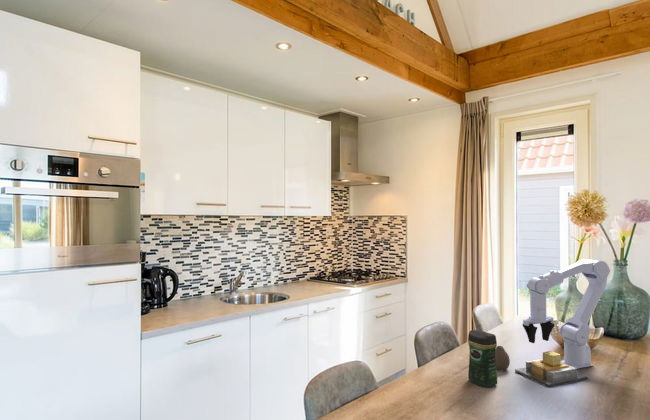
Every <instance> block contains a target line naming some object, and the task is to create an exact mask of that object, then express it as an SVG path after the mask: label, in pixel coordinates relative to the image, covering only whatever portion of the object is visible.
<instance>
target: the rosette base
mask: <svg viewBox="0 0 650 420" xmlns="http://www.w3.org/2000/svg"><path fill="white" fill-rule="evenodd" d="M514 372H515V373H516V374H519V375H521V376H523V377H525V378H527V379H530V380H531V381H535V382H537V383H538V384H540V385H543V386H545V387H547V388H552V387H553V388H554V387H556V386H557V387H558V386H563V385H566V384H567V385H568V384H571V383H576V382H577V383H578V382H581V381H587V380H589V376H588V375H585V374H583V373H580V372H578V369H577V368H574V367H572V366H569V365H566V364H564V363H561V365H560V366H554V367H551V366H548V365H546V364H543V358H539V359H533V360H528V361H525V367H522V368H517V369H516V368H515V370H514Z"/></svg>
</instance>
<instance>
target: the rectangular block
mask: <svg viewBox="0 0 650 420" xmlns="http://www.w3.org/2000/svg"><path fill="white" fill-rule="evenodd" d="M542 359H543V364H546V365H548V366H551V367H554V366H560V365H561V361H562V360H561V353H559V352H555V351H552V350H549V351H544V352H542Z"/></svg>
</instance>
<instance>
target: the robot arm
mask: <svg viewBox="0 0 650 420" xmlns="http://www.w3.org/2000/svg"><path fill="white" fill-rule="evenodd" d="M610 272H611V269H610V267H609V264H608V263H607V262H606V261H604V260H596V259H589V258H582V259H580V260H577V261H576V262H575V263H573V264H570V265H568V266H567V267H565V268H563V269H560V270H559V271H558V270H553V269H551V270H549V271H548V272H547V273H545V274H543V275H542V274H540V275H538V277H531V278H529V280H528V283H526V287H527V289H528V291H529V298H530V300H529V301H530V304H529V305H530V307H529V308H530V311H529V312H530V316H528V318H526V319H522V320H523V321H522V327H523V329H524V331H525V333H526V336H527V339H528V343H532V344H535V343H536V333H537V330H538V327H537V326H535V325H537V324H538V325H540V328H541V329H540V330H541V337H542V340H543V341H545V342H548V341H549V339H550V335H551V334H552V333H551V332H552V330H553V329H554V327H555V323H554V317H553V316H547V293H548V292H549V291H550V289H551V288H555V287H556V286H559V285H561V284H563V283H564V281H565V279H567V278H571V277H573V276H575V275H579V274H582V275H583V276H584V278H586V280H587V282H588V285H587V288H586V290H585V291H584V294H583V295H582V298H581V300H580V302H579V304H578V305H577V308H576V310H575V312H574V314H573V316H572V317H570V318H567V319H566V320H565V322H564V323H563V324H562V325H561V326H560V328H559V334H560V336H561V337H562V341H563V355H564V356H563V360H561V363H564V364H566V365H569V366H572V367H574V368H577V370H579V369H583V368H587V367H593V366H594V364H592V362H591V361H592V359H591V358H592V354H591V353H592V352H591V351H592V350H591V347H590V345H589V343H588V342H589V340H590V333H591V327H590V326H589V322H590V319H591V318H592V315H594V311H595V309H596V307H597V306H598V304H599V302H600V299H601V297H602V295H603V293H604V291H605V289H606V287H607V282H608V277H609V275H610Z"/></svg>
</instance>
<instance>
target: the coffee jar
mask: <svg viewBox="0 0 650 420" xmlns="http://www.w3.org/2000/svg"><path fill="white" fill-rule="evenodd" d="M467 336H468V337H467V343H468V348H469V362H468V374H467V375H468V380H469V382H472V383H473V384H475V385H478V386H480V387H481V386H482V387H484V388H487V387H488V388H489V387H490V388H491V387H492V388H493V387H495V386H497V384H498V373H497V370H496V361H495V349H496V347H497V346H498V341H497V337H496V335H495V334H494V333H490V332H487V331H483V330H480V329H473V330H472V329H471V330H470V331H469V332H468V335H467Z"/></svg>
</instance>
